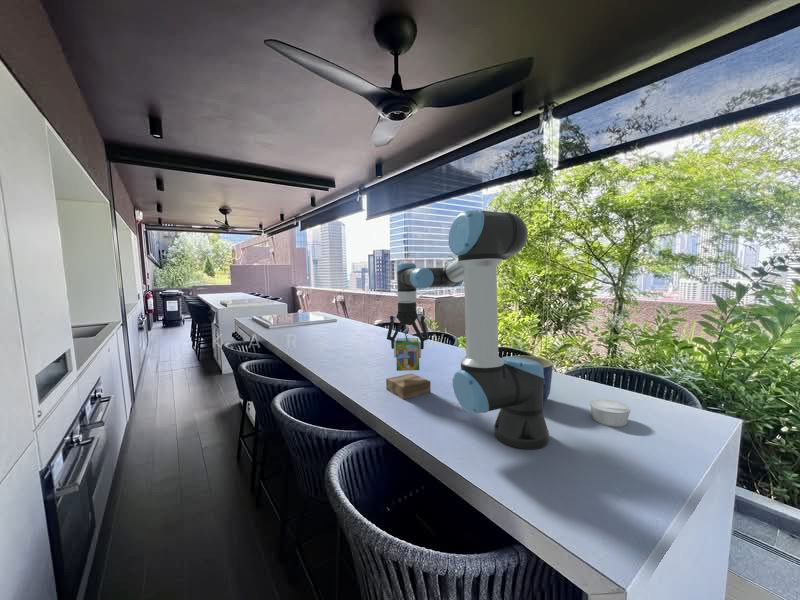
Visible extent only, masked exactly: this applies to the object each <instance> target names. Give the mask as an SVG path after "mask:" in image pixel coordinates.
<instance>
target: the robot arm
mask: <svg viewBox="0 0 800 600" xmlns="http://www.w3.org/2000/svg"><path fill="white" fill-rule="evenodd" d="M528 237H529V236H528V228H527V225H526V223H525V222H524V220H523V219H522V217H520V216H518V215H517V214H515V213H512V212H505V211H504V212H500V211H490V210H480V209H476V210H475V209H473V210H465V211H462V212H460V213H459V214H458V215H456V217H455V218H454V220H453V222H452V223H451V225H450V228H449V232H448V246H449V249H450V251H451V253H453V254H454V255H455V256H457V258H456V259H455V260H454V261H452V262H451V263H449V264H448V265H446V266H444V267H417V265H416V263H415V262H404V263H403V262H401V263H398V264H397V269H396V270H397V271H396V277H397V280H396V281H397V282H396V283H397V314H396V315H393V314H392V315H390V316H389V318H390V319H389V321H390V322H389V325H388V330H387V335H386V340H389V341H390V342H391V343H390V345H391V346H390V347H391V350H393V358H395V359H396V341H397V336H398V333H399V332H400V330H401V328H402V326H412V328H413V330H414V332H415V333H416V335H417V337H418V342H419V359H420V358H421V359H422V350H424V347H425V345H424V344H425V341H429V335H428V331H427V327H426V324H425V315H424V314H422V315H421V314H420V315H419V314H418V312H417V309H418V308H417V289H418V290H419V289H420V290H421V289H422V290H423V289H428V288H430V289H431V288H432V289H433V288H455V287H460V286H462V285H464V286H463V287H464V288H463V289H464V290H463V291H464V317H465V319H464V320H465V321H464V322H465V326H464V327H465V356H464V358H462V359H461V360H460V370H458V371H456V372H454V374H453V376H452V389H453V393H454V397H456V400H457V401H458V404H459V405H460V406H461V408H463V409H464V410H465V411H466V412H467V413H470V414H486V413H488V412H493V411H495V410H499V412H498V414H497V418H496V420H495V423H494V426H493V427H494V428H493V433H494V436H495V438H496V439H497V440H498V441H500V442H501V443H502V444H505V445H507V446H510V447H513V448H516V449H517V448H518V449H523V450H537V449H540V448H541V449H542V448H544V447H546V446H547V445H548V444H549V441H550V433H549V429H548V426H547V422H546V420H545V416H544V409H543V408H544V402H543V389H544V374H543V366H542V365H541V364H540V363H539V362H537V361H534V360H531V359H526V358H521V357H511V355H510V356H506V355H505V356H503V357H500V356H499V327H498V326H499V323H498V321H499V319H498V283H497V281H498V280H497V279H498V277H497V276H498V275H497V267H498V266H499V264H501V262H502V261H505V260H507V259H510V258H511V257H513V256H515V255H516V254H518V253H519V252H521V251H522V250H523V248H524V247H525V245H526V244H527V241H528ZM463 283H464V284H463ZM396 320H398V321H399V323H398V326H397V327H396V328H395V331H394V333H393V335H392V332H393V327H394V324H395V321H396ZM416 320H418V321H420V325H421V330H422V332H423V333H421V331H420V328H419V327H418V325H417V323H416ZM422 334H423V335H422Z"/></svg>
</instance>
